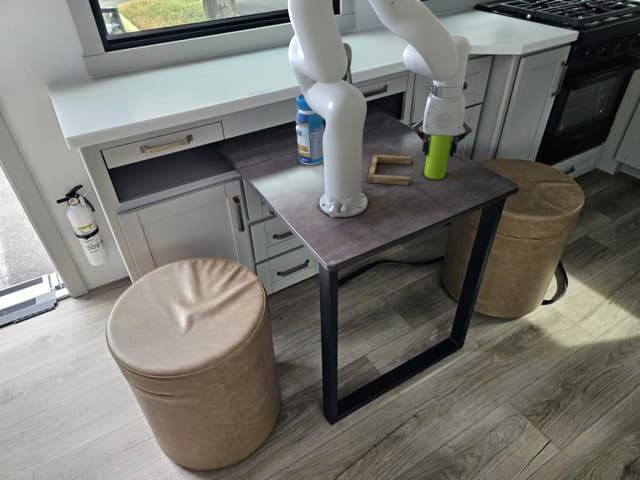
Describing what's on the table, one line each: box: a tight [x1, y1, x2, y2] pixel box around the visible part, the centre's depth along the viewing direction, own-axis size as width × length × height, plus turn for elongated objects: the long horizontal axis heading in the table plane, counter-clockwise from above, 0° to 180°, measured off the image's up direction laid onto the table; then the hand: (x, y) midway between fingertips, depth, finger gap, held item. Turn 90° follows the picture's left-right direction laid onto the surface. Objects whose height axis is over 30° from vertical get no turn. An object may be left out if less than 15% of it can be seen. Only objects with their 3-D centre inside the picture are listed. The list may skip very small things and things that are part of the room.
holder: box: [367, 153, 412, 186], centre depth 126 cm, size 14×11×2 cm
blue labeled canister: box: [295, 93, 325, 166], centre depth 129 cm, size 8×8×20 cm
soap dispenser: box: [423, 135, 453, 180], centre depth 118 cm, size 6×7×20 cm
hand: (438, 153), depth 120 cm, fingers closed on soap dispenser, 6 cm apart
